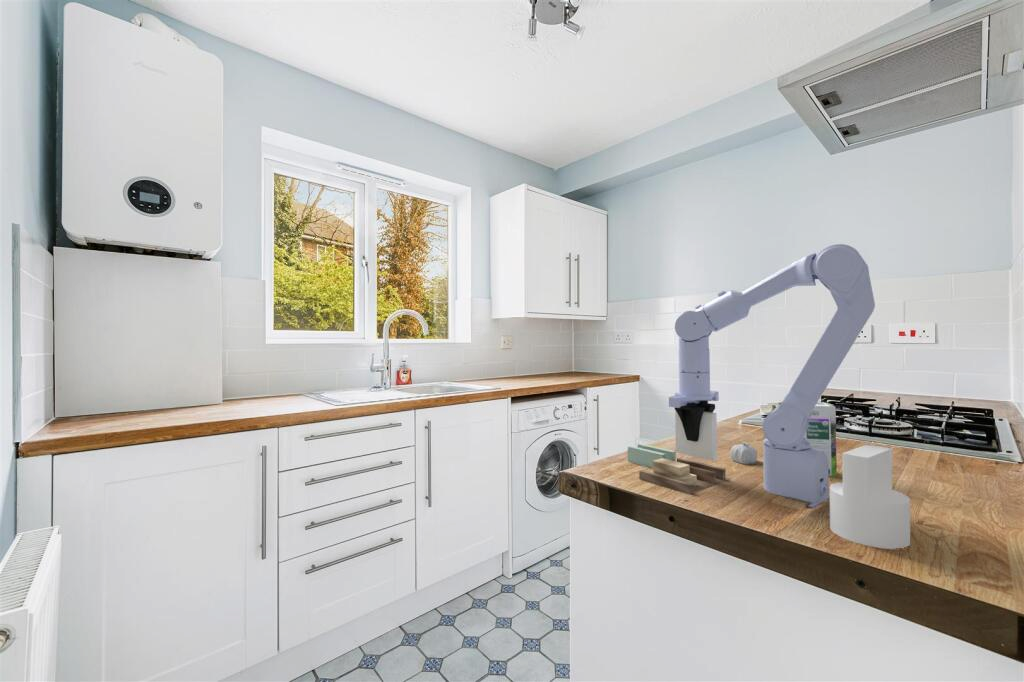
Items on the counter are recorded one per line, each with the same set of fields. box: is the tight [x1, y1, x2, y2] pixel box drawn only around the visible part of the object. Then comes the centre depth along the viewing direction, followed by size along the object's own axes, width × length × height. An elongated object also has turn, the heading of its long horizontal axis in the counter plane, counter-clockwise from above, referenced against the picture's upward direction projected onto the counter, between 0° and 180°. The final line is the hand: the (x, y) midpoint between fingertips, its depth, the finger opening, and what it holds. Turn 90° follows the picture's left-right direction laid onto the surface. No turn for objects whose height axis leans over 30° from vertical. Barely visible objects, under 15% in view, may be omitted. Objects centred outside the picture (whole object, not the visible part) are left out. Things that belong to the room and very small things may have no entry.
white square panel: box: [674, 409, 718, 462], centre depth 89 cm, size 8×2×9 cm, turn 36°
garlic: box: [729, 441, 758, 465], centre depth 99 cm, size 6×5×5 cm
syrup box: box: [804, 401, 838, 478], centre depth 92 cm, size 6×6×14 cm
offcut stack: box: [652, 458, 697, 486], centre depth 85 cm, size 7×4×4 cm, turn 36°
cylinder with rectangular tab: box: [829, 444, 911, 550], centre depth 64 cm, size 9×9×12 cm
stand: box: [627, 443, 677, 469], centre depth 98 cm, size 9×5×4 cm, turn 36°
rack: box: [638, 457, 732, 495], centre depth 87 cm, size 11×14×3 cm
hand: (695, 439), depth 89 cm, fingers closed on white square panel
